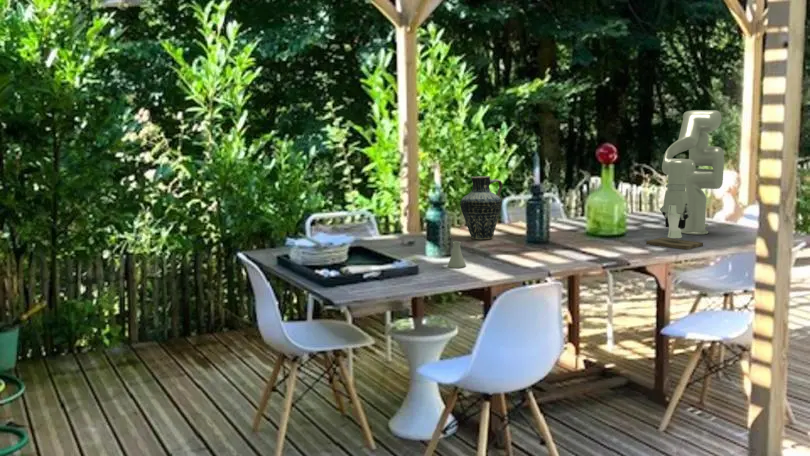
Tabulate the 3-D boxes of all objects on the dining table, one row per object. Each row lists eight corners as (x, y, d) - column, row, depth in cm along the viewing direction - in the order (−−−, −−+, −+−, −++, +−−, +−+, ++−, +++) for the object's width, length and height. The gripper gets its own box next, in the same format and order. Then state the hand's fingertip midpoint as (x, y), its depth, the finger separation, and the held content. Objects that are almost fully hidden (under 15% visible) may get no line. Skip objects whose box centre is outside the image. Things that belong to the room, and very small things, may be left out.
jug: (472, 243, 381) (472, 178, 376) (453, 237, 398) (453, 175, 394) (511, 239, 389) (511, 176, 385) (490, 234, 407) (490, 173, 402)
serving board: (663, 240, 383) (663, 237, 383) (702, 245, 368) (703, 242, 368) (646, 244, 374) (646, 240, 373) (686, 249, 359) (686, 246, 359)
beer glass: (683, 238, 366) (685, 205, 364) (667, 238, 368) (668, 205, 365) (681, 236, 373) (683, 203, 371) (665, 236, 374) (666, 203, 372)
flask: (453, 264, 331) (453, 239, 330) (469, 266, 327) (469, 241, 326) (444, 267, 325) (444, 242, 324) (459, 269, 321) (459, 244, 320)
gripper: (654, 187, 371) (653, 226, 374) (689, 190, 358) (688, 230, 361) (664, 186, 376) (662, 224, 379) (699, 188, 363) (697, 228, 366)
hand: (675, 227), depth 370 cm, fingers closed on beer glass, 6 cm apart
